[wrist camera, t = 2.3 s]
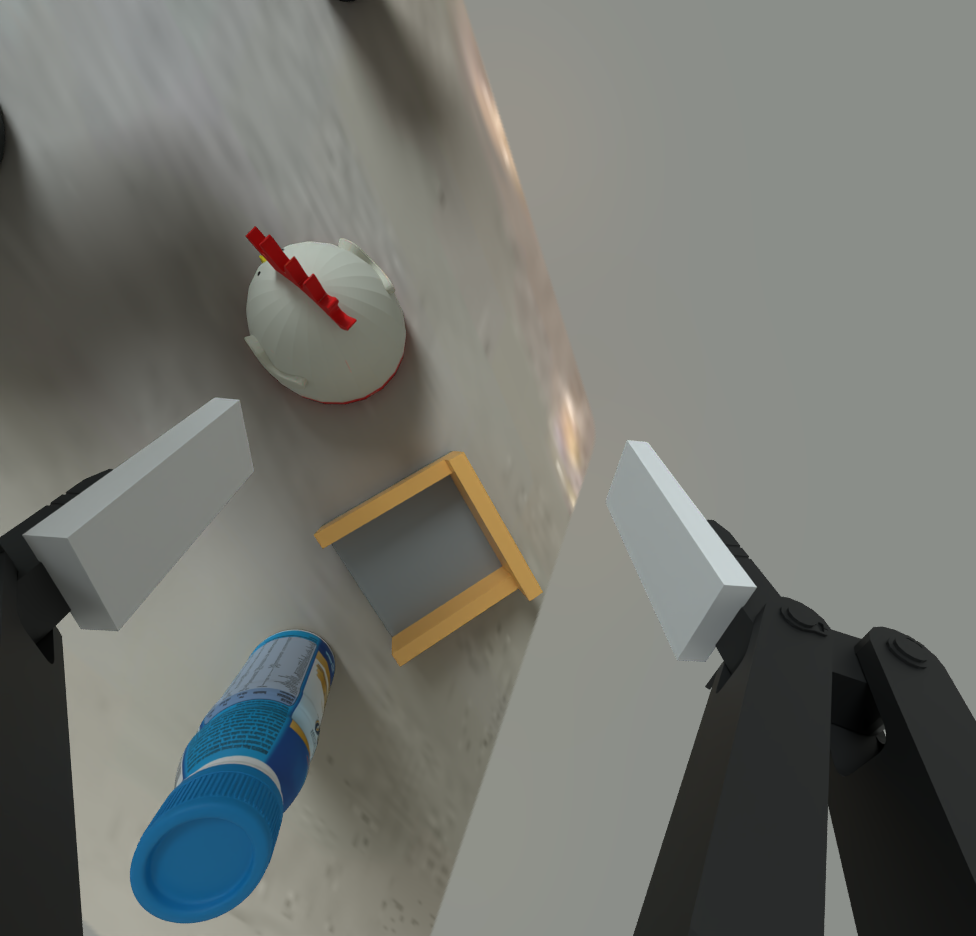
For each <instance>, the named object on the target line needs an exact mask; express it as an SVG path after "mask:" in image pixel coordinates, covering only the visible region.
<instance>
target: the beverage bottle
mask: <svg viewBox="0 0 976 936" xmlns="http://www.w3.org/2000/svg"><path fill="white" fill-rule="evenodd" d="M334 672H335V660H334V656H333V653H332V651H331V649H330V647H329V645H328V644H327V643H326V642H325V641H324V640H323V639H322V638H321V637H319V636H318V635H316V634H314V633H312V632H309V631H305V630H297V629H294V630H285V631H281V632H278V633H276V634H274V635H272V636H270V637H268V638H267V639H265V640H264V641H263V642H261V643H260V644H259V645H258V646H257V647H256V649H255V650H254V651H253V653H252V654H251V656H250V657H249V659H248V661H247V662H246V664H245V665H244V666H243V668H242V669H241V671H240V672H239V673H238V675H237V676H236V678H235V679H234V680H233V682H232V683H231V685H230V686H229V687H228V689H227V690H226V692H225V693H224V695H223V696H222V697H221V699H220V700H219V701H218V702H217V703H216V704H215V705H214V706H213V707H212V708H211V710H210V711H209V712H208V714H207V715H206V717H205V718H204V720H203V721H202V723H201V725H200V727H199V729H198V731H197V734H196V735H195V736H194V737H193V738H192V740H191V741H190V743H189V744H188V746H187V747H186V749H185V751H184V753H183V755H182V757H181V760H180V763H179V766H178V770H177V774H176V779H175V788H174V790H173V791H172V792H171V794H170V795H169V796H168V797H167V799H166V800H165V802H164V803H163V805H162V806H161V808H160V809H159V810H158V812H157V814H156V815H155V817H154V818H153V820H152V821H151V823H150V824H149V826H148V827H147V829H146V830H145V832H144V833H143V836H142V837H141V839H140V842H139V843H138V845H137V848H136V851H135V853H134V856H133V859H132V863H131V868H130V882H131V887H132V890H133V893H134V895H135V897H136V899H137V901H138V902H139V903H140V905H141V906H142V907H143V908H144V909H145V910H146V911H148V912H149V913H150V914H152V915H154V916H155V917H157V918H160V919H162V920H165V921H169V922H174V923H196V922H202V921H206V920H210V919H213V918H215V917H218V916H220V915H222V914H224V913H226V912H228V911H230V910H231V909H233V908H234V907H236V906H237V905H239V904H240V903H241V902H242V901H244V900H245V899H246V898H247V897H248V896H249V895H250V894H251V893H252V891H253V890H254V889H255V888H256V886H257V885H258V883H259V882H260V880H261V878H262V877H263V875H264V873H265V870H266V869H267V867H268V864H269V863H270V860H271V857H272V854H273V850H274V847H275V844H276V840H277V837H278V834H279V830H280V826H281V822H282V817H283V813H284V812H285V811H286V810H287V808H288V807H289V806H290V805H291V803H292V802H293V801H294V799H295V798H296V796H297V795H298V793H299V792H300V790H301V788H302V786H303V784H304V782H305V780H306V777H307V774H308V770H309V766H310V762H311V760H312V757H313V755H314V753H315V750H316V747H317V744H318V739H319V732H320V724H321V720H322V716H323V713H324V709H325V705H326V701H327V697H328V693H329V690H330V686H331V683H332V680H333V677H334Z"/></svg>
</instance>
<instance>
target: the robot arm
mask: <svg viewBox="0 0 976 936" xmlns="http://www.w3.org/2000/svg"><path fill="white" fill-rule="evenodd" d="M4 141H5V135H4V125H3V120H2V116H1V112H0V162H1V160H2V156H3V151H4ZM253 472H254V467H253V462H252V457H251V452H250V448H249V443H248V438H247V433H246V428H245V423H244V418H243V413H242V409H241V404H240V400H237V399H227V398H218V397H214V398H213V399H212V400H210V401H209V402H207V403H206V404H205V405H203V406H202V407H201V408H199V409H198V410H196V411H195V412H194V413H192V414H191V415H189V416H188V417H187V418H185V419H184V420H182V421H181V422H180V423H178V424H177V425H175V426H174V427H173V428H171V429H170V430H168V431H167V432H166V433H164V434H163V435H161V436H160V437H159V438H157V439H156V440H154V441H153V442H152V443H150V444H149V445H147V446H146V447H145V448H143V449H142V450H140V451H139V452H138V453H136V454H135V455H133V456H132V457H131V458H129V459H128V460H126V461H125V462H124V463H122V464H121V465H119V466H118V467H117V468H115V469H108V470H106V471H103V472H101V473H99V474H96V475H94V476H91V477H89V478H87V479H84V480H83V481H81V482H80V483H79V484H77V485H76V486H74V487H73V488H71V489H70V490H68V491H67V492H66V495H61V496H60V497H58V498H57V499H55V500H54V501H52V502H51V505H50V506H47V505H46V506H45V507H44V508H42V509H41V510H39V511H38V512H36V513H35V514H33V515H32V516H30V517H29V518H28V519H26V520H25V521H23V522H22V523H20V524H19V525H17V526H16V527H14V528H13V529H11V530H10V531H9V532H7V533H6V534H4V535H3V536H1V537H0V936H83V927H82V913H81V898H80V884H79V870H78V856H77V842H76V828H75V814H74V800H73V786H72V772H71V757H70V743H69V729H68V715H67V701H66V687H65V673H64V659H63V645H62V636H61V634H60V632H59V630H58V628H57V627H56V625H57V624H58V623H59V622H60V621H61V620H62V619H63V618H64V617H65V616H66V615H67V614H68V613H69V612H71V614H72V615H73V617H74V619H75V620H76V622H77V623H78V625H79V627H80V628H81V629H89V630H108V631H119V630H120V628H121V627H122V626H123V625H124V624H125V623H126V621H127V620H128V619H129V618H130V617H131V616H132V614H133V613H134V612H135V611H136V610H137V608H138V607H139V606H140V605H141V604H142V603H143V601H144V600H145V599H146V598H147V597H148V595H149V594H150V593H151V592H152V591H153V590H154V588H155V587H156V586H157V585H158V584H159V583H160V581H161V580H162V579H163V578H164V577H165V575H166V574H167V573H168V572H169V571H170V570H171V568H172V567H173V566H174V565H175V564H176V563H177V561H178V560H179V559H180V558H181V557H182V555H183V554H184V553H185V552H186V551H187V550H188V548H189V547H190V546H191V545H192V544H193V542H194V541H195V540H196V539H197V538H198V537H199V535H200V534H201V533H202V532H203V531H204V530H205V528H206V527H207V526H208V525H209V524H210V522H211V521H212V520H213V519H214V518H215V517H216V515H217V514H218V513H219V512H220V511H221V509H222V508H223V507H224V506H225V505H226V504H227V502H228V501H229V500H230V499H231V498H232V497H233V495H234V494H235V493H236V492H237V491H238V489H239V488H240V487H241V486H242V485H243V484H244V482H245V481H246V480H247V479H248V478H249V477H250V475H251V474H252V473H253ZM606 505H607V507H608V509H609V511H610V514H611V516H612V518H613V520H614V522H615V524H616V527H617V529H618V531H619V533H620V536H621V538H622V540H623V542H624V544H625V547H626V549H627V551H628V553H629V555H630V558H631V560H632V562H633V564H634V566H635V569H636V571H637V573H638V575H639V577H640V580H641V582H642V584H643V586H644V589H645V591H646V593H647V595H648V597H649V600H650V602H651V604H652V606H653V608H654V611H655V613H656V615H657V617H658V619H659V622H660V624H661V626H662V628H663V630H664V633H665V635H666V637H667V639H668V642H669V644H670V646H671V648H672V650H673V653H674V654H675V657H676V659H677V660H681V661H700V662H706V660H707V659H708V657H709V656H710V654H711V653H712V652H713V650H714V649H715V647H717V649H718V651H719V653H720V655H721V656H722V658H723V660H724V662H723V663H722V664H721V665H720V667H719V668H718V670H717V671H716V672H715V674H714V675H713V676H712V678H711V679H710V681H709V682H708V683H707V685H706V686H705V687H706V688H708V689H711V687H712V689H711V692H710V695H709V699H708V702H707V705H706V708H705V711H704V714H703V717H702V720H701V724H700V727H699V730H698V733H697V736H696V739H695V743H694V746H693V749H692V752H691V755H690V758H689V761H688V764H687V768H686V771H685V774H684V777H683V780H682V783H681V787H680V790H679V793H678V796H677V799H676V803H675V806H674V809H673V812H672V815H671V818H670V821H669V824H668V828H667V831H666V834H665V837H664V840H663V843H662V847H661V850H660V853H659V856H658V859H657V862H656V865H655V868H654V872H653V875H652V878H651V881H650V884H649V887H648V890H647V894H646V897H645V900H644V903H643V906H642V909H641V912H640V916H639V919H638V922H637V925H636V928H635V931H634V934H633V936H824V915H825V913H824V912H825V883H826V882H825V881H826V852H827V851H826V850H827V820H828V819H827V818H828V806H829V810H830V815H831V819H832V824H833V828H834V833H835V837H836V841H837V846H838V849H839V854H840V859H841V863H842V868H843V872H844V876H845V881H846V885H847V889H848V893H849V898H850V902H851V907H852V911H853V916H854V919H855V924H856V928H857V933H858V936H976V721H975V719H974V717H973V716H972V714H971V712H970V710H969V709H968V707H967V705H966V704H965V702H964V700H963V698H962V697H961V695H960V693H959V691H958V690H957V688H956V686H955V685H954V683H953V681H952V679H951V678H950V676H949V674H948V673H947V671H946V669H945V667H944V666H943V665H942V664H941V663H940V661H939V660H938V658H937V657H936V656H935V655H934V654H932V653H931V652H930V651H929V650H928V649H927V648H926V647H924V645H922V644H921V643H919V642H918V641H915V639H913V638H911V637H909V636H907V635H905V634H902V633H900V632H898V631H896V630H893V629H889V628H886V627H873V628H872V629H871V630H870V631H869V632H868V633H867V634H866V635H865V636H864V637H863V638H862V639H860V638H856V637H853V636H850V635H847V634H843V633H841V632H837V631H834V630H831V629H830V627H829V626H828V625H827V623H826V622H825V621H824V619H823V618H821V617H820V616H819V615H818V614H817V613H816V612H814V611H813V610H812V609H810V608H809V607H807V606H805V605H804V604H802V603H800V602H798V601H795V600H792V599H790V598H786V597H781V596H780V595H779V594H778V592H777V591H776V590H775V589H774V587H773V586H772V585H771V584H770V582H769V581H768V580H767V579H766V577H765V576H764V575H763V574H762V572H761V571H760V570H759V569H758V567H757V566H756V565H755V564H754V562H753V561H752V560H751V559H749V558H748V557H749V556H748V555H747V554H746V552H745V551H744V550H743V549H742V548H740V545H739V544H738V542H737V541H736V540H735V539H734V537H733V536H732V535H731V534H730V532H728V531H727V530H726V529H725V528H723V527H722V526H720V525H719V524H718V523H717V522H716V521H714V520H706V519H705V518H704V516H703V515H702V514H701V512H700V511H699V510H698V508H697V507H696V506H695V504H694V503H693V502H692V501H691V500H690V498H689V497H688V495H687V494H686V493H685V491H684V490H683V489H682V487H681V486H680V485H679V483H678V482H677V481H676V479H675V478H674V477H673V475H672V474H671V473H670V471H669V470H668V469H667V467H666V466H665V465H664V463H663V462H662V461H661V459H660V458H659V457H658V455H657V454H656V453H655V452H654V450H653V449H652V447H651V446H650V445H649V443H648V442H640V441H630V440H627V442H626V445H625V447H624V450H623V453H622V456H621V459H620V462H619V464H618V467H617V470H616V473H615V476H614V479H613V482H612V485H611V487H610V490H609V493H608V496H607V499H606ZM884 729H885V730H886V736H885V734H884V731H883V730H884Z"/></svg>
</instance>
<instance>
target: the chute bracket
mask: <svg viewBox="0 0 976 936" xmlns="http://www.w3.org/2000/svg"><path fill="white" fill-rule="evenodd" d="M314 536H315V538H316V539H317V541H318V542H319V544H320V545H321V547H322V549H323V548H325V547H327V546H328V545H330V544H332V546H333V547H334V549H335V550H336V552H337V553H338V555H339V556H340V558H341V560H342V561H343V563H344V564H345V566H346V567H347V569H348V570H349V572H350V573H351V575H352V576H353V578H354V580H355V581H356V583H357V584H358V586H359V587H360V589H361V590H362V592H363V593H364V595H365V596H366V598H367V600H368V601H369V603H370V604H371V606H372V607H373V609H374V610H375V612H376V613H377V615H378V616H379V618H380V620H381V621H382V623H383V624H384V626H385V627H386V629H387V630H388V632H389V633H390V635H391V636H392V655H393V657H394V658H395V660H396V661H397V663H398V664H399V666H402V665H403V664H405V663H406V662H408V661H410V660H411V659H413V658H414V657H416V656H417V655H419V654H420V653H422V652H423V651H425V650H426V649H428V648H429V647H431V646H432V645H434V644H435V643H437V642H438V641H440V640H441V639H443V638H444V637H446V636H447V635H449V634H450V633H452V632H453V631H455V630H456V629H458V628H459V627H461V626H462V625H464V624H465V623H467V622H468V621H470V620H471V619H473V618H474V617H476V616H477V615H479V614H480V613H482V612H484V611H485V610H487V609H488V608H490V607H491V606H493V605H494V604H496V603H497V602H499V601H500V600H502V599H503V598H505V597H506V596H508V595H509V594H511V593H512V592H514V591H515V590H517V589H518V588H519V590H520V591H521V592H522V593H523V594H524V595H525V596H526V598H527V599H528V600H529V601H531V600H532V599H534V598H535V597H537V596H538V595H540V594H541V593H542V592H543V591H542V590H541V588H540V586H539V584H538V582H537V581H536V579H535V577H534V575H533V574H532V572H531V570H530V568H529V567H528V565H527V563H526V561H525V560H524V558H523V556H522V554H521V552H520V551H519V549H518V547H517V545H516V544H515V542H514V540H513V538H512V537H511V535H510V533H509V531H508V530H507V528H506V526H505V524H504V522H503V521H502V519H501V517H500V515H499V514H498V512H497V510H496V508H495V507H494V505H493V503H492V501H491V500H490V498H489V496H488V494H487V492H486V491H485V489H484V487H483V485H482V484H481V482H480V480H479V478H478V477H477V475H476V473H475V471H474V469H473V468H472V466H471V464H470V462H469V461H468V459H467V457H466V455H465V454H464V452H456V451H451V452H449V453H447V454H446V455H444V456H442V457H440V458H439V459H437V460H435V461H433V462H432V463H430V464H428V465H426V466H425V467H423V468H421V469H420V470H418V471H416V472H414V473H413V474H411V475H409V476H407V477H406V478H404V479H402V480H400V481H399V482H397V483H395V484H393V485H392V486H390V487H388V488H387V489H385V490H383V491H381V492H380V493H378V494H376V495H374V496H373V497H371V498H369V499H367V500H366V501H364V502H362V503H361V504H359V505H357V506H355V507H354V508H352V509H350V510H348V511H347V512H345V513H343V514H341V515H340V516H338V517H336V518H335V519H333V520H331V521H329V522H328V523H326V524H324V525H322V526H321V528H320V529H319V530H318V531H317V532H316V533H315V534H314Z"/></svg>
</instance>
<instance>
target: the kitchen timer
mask: <svg viewBox="0 0 976 936" xmlns="http://www.w3.org/2000/svg"><path fill="white" fill-rule="evenodd" d="M246 237H247V238H248V240H249V241H250V242H251V243H252V244H253V246H254V247H255V248H256V249H257V250H258V251H259V252H260V253H261V255H262V256H261V255H260V256H259V257H260V259H261V262H262V264H261V265H260V266H259V267H258V269H257V271H256V273H255V275H254V277H253V280H252V282H251V284H250V286H249V290H248V298H247V306H246V315H247V321H248V327H249V332H250V336H247V337H245V338H244V339H245V341H246V342H247V344H248V345H249V347H250V348H251V350H252V351H253V353H254V354H255V356H256V357H257V359H258V360H259V361H260V363H261V364H262V365H263V366H264V367H265V369H266V370H267V371H268V372H269V373H270V374H271V375H273V376H274V377H275V378H276V379H277V380H278V381H279V382H280V383H281V384H282V385H284V386H286V387H287V388H289V389H291V390H292V391H294V392H295V393H297V394H299V395H300V396H302V397H304V398H307V399H311V400H314V401H317V402H321V403H324V404H348V403H352V402H356V401H360V400H364V399H366V398H368V397H370V396H371V395H373V394H375V393H376V392H378V391H380V390H381V389H383V388H384V386H385V385H386V384H387V383H388V382H389V381H390V380H391V379H392V378H393V376H394V375H395V374H396V372H397V369H398V367H399V365H400V363H401V361H402V359H403V355H404V347H405V340H406V329H405V323H404V316H403V311H402V309H401V307H400V305H399V302H398V300H397V298H396V296H395V294H394V292H395V289H394V287H393V285H392V283H391V281H390V280H389V278H388V277H387V276H386V275H385V273H384V272H383V271H382V270H381V269H380V268H379V267H378V266H377V265H376V263H375V262H374V261H373V260H372V259H371V258H370V257H369V256H368V255H367V254H366V253H365V252H364V251H363V250H361V249H360V248H359V247H358V246H357V245H355V244H354V243H352V242H351V241H349V240H346V239H343V238H341V239H340V240H339V244H338V246H335V245H333V244H329V243H320V242H311V241H308V242H303V243H297V244H291V245H288V246H286V247H284V248H282V249H281V248H280V247H279V245H278V244H277V243H276V241H275V240H274V239H273V238H272V236H271V235H270V234H269V235H268V236H267V237H265V236H264V235H263V234H262V233H261V232H260V230H259V229H258V228H257V227H256V226H255V227H254V228H253V229H252V230H251V231H250V232H249V233H248V234H247V235H246Z"/></svg>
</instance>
